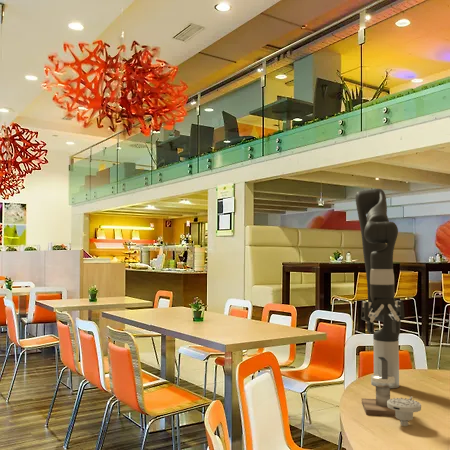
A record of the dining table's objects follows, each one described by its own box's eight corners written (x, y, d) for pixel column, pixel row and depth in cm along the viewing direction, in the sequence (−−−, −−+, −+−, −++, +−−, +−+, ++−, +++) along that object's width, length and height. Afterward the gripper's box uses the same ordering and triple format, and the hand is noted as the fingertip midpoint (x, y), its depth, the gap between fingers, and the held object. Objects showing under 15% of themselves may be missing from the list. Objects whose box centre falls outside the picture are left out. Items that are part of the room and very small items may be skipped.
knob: (373, 387, 159) (372, 360, 159) (368, 380, 167) (368, 355, 168) (396, 388, 158) (396, 361, 159) (391, 381, 166) (390, 356, 167)
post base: (361, 402, 169) (361, 380, 169) (398, 404, 167) (398, 381, 167) (366, 414, 156) (366, 390, 156) (406, 416, 154) (406, 391, 155)
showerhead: (427, 399, 148) (412, 406, 141) (428, 424, 147) (412, 432, 140) (397, 392, 154) (381, 399, 147) (397, 417, 154) (381, 424, 147)
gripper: (368, 284, 159) (369, 336, 158) (408, 283, 162) (409, 334, 161) (356, 282, 166) (357, 332, 165) (395, 282, 169) (396, 330, 168)
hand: (383, 333), depth 163 cm, fingers open, 8 cm apart
